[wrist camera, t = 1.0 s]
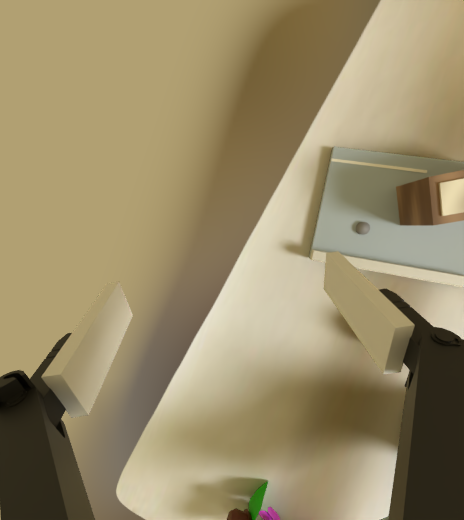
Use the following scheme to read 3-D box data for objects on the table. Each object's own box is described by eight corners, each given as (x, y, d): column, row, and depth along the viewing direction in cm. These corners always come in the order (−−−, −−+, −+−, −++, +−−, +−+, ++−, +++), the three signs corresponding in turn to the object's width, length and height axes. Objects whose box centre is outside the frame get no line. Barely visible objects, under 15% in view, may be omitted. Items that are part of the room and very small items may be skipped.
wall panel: (497, 168, 36) (519, 163, 33) (460, 284, 39) (476, 289, 36) (332, 148, 40) (337, 142, 36) (308, 257, 42) (311, 260, 39)
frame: (485, 169, 36) (548, 152, 28) (488, 210, 36) (550, 206, 28) (395, 186, 38) (430, 176, 30) (400, 225, 38) (434, 225, 30)
